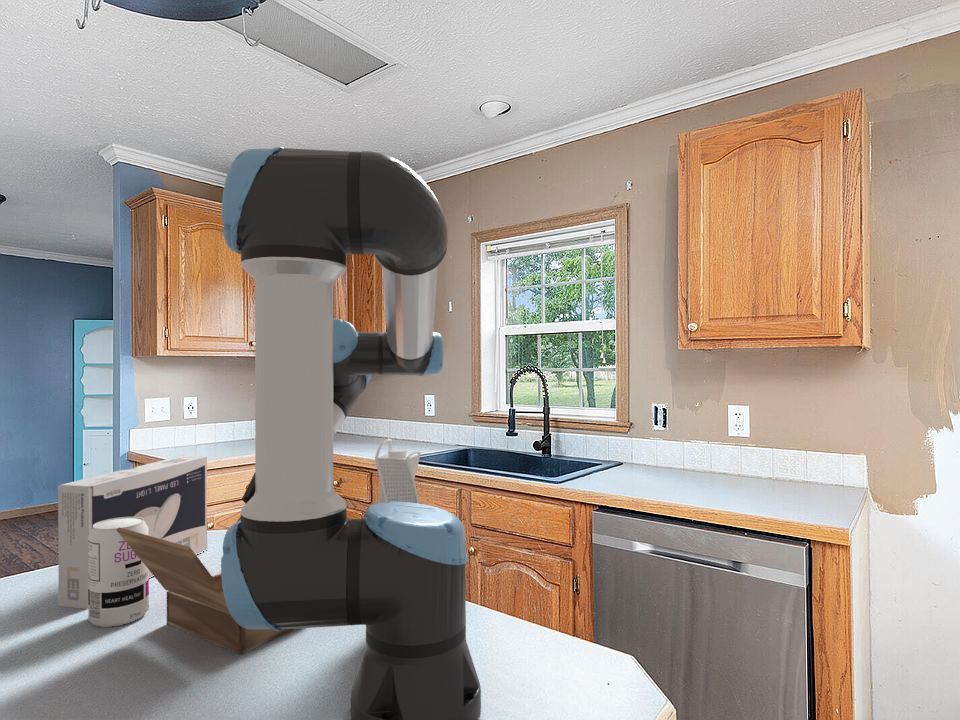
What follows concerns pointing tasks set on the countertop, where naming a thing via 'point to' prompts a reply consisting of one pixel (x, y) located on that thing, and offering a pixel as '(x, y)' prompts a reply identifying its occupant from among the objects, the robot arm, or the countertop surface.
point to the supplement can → (116, 574)
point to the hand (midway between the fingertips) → (232, 547)
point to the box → (215, 623)
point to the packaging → (130, 513)
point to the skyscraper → (397, 475)
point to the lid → (176, 568)
